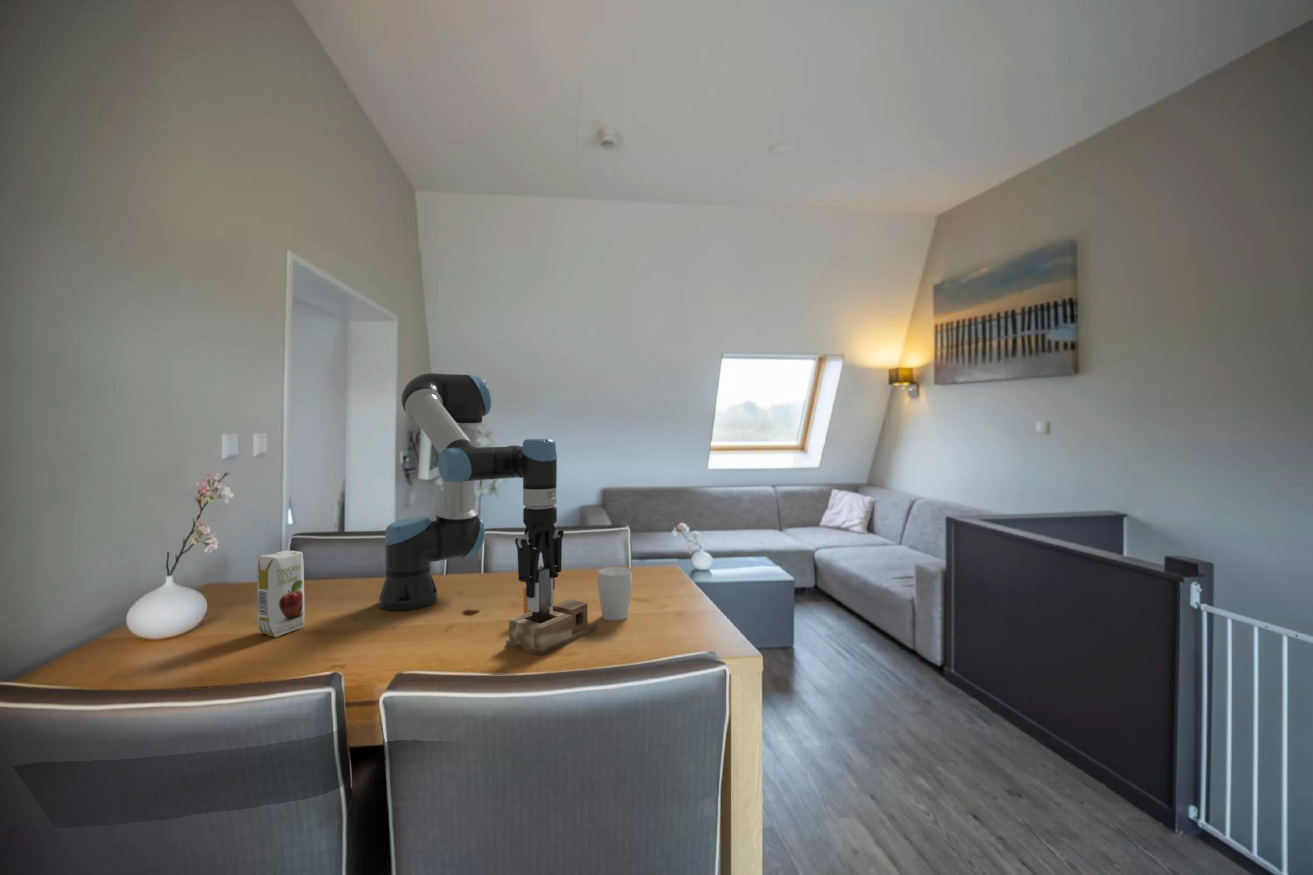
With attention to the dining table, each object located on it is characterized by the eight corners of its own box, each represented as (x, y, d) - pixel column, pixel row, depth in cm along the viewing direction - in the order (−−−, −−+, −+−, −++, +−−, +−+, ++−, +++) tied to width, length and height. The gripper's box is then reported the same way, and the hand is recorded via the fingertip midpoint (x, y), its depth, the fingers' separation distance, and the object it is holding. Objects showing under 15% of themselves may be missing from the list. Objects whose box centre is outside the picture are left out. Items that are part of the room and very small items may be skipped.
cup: (627, 623, 143) (627, 576, 143) (593, 621, 145) (592, 574, 145) (635, 612, 152) (635, 567, 152) (603, 609, 154) (603, 565, 153)
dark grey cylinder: (528, 621, 130) (528, 569, 129) (541, 616, 133) (540, 565, 133) (541, 624, 128) (540, 571, 127) (553, 619, 131) (553, 567, 131)
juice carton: (253, 635, 136) (251, 556, 135) (288, 623, 144) (286, 548, 143) (275, 639, 133) (273, 559, 132) (309, 627, 141) (308, 551, 140)
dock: (506, 644, 130) (505, 616, 129) (562, 620, 146) (562, 595, 145) (541, 655, 124) (541, 626, 123) (596, 628, 140) (596, 602, 139)
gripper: (524, 512, 120) (525, 622, 121) (577, 503, 135) (577, 600, 135) (499, 509, 125) (500, 615, 125) (553, 500, 139) (554, 595, 139)
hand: (540, 607), depth 130 cm, fingers closed on dark grey cylinder, 4 cm apart
